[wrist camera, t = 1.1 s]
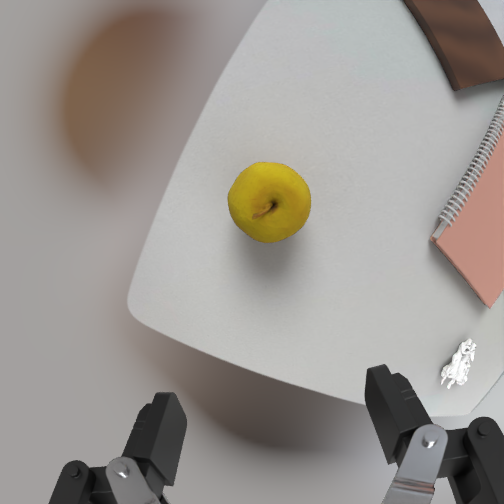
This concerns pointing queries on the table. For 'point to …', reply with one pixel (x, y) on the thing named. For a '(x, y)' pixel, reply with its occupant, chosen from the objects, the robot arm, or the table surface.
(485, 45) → the cutting board
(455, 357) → the figurine
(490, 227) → the notebook
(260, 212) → the apple
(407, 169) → the table surface
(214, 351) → the table surface
